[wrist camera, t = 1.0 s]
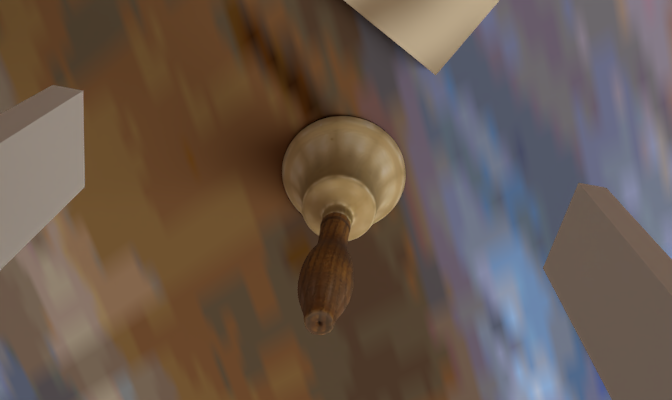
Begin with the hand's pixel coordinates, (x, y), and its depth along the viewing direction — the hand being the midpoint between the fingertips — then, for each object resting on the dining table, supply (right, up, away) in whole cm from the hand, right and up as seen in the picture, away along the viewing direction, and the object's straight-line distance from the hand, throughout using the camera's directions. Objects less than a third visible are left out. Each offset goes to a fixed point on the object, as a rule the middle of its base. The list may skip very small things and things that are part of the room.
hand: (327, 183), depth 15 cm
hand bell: (+1, +1, +23) cm, 23 cm away
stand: (+5, +14, +17) cm, 22 cm away
